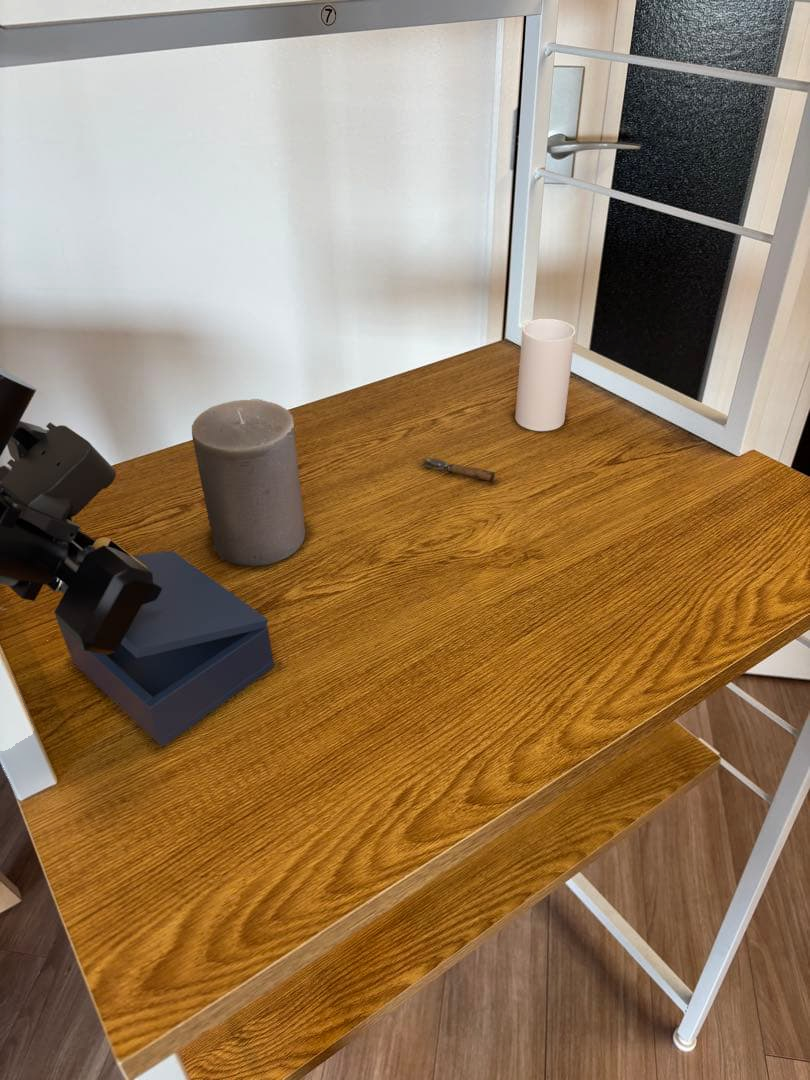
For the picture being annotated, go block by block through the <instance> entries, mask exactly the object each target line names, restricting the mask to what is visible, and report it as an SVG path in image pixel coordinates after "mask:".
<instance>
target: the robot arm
mask: <svg viewBox="0 0 810 1080" xmlns="http://www.w3.org/2000/svg"><path fill="white" fill-rule="evenodd" d="M36 392H37V388H36V387H34V386H33V385H32V384H30V383H28V382H26V381H25V380H23V379H21V378H20V377H18V376H17V375H15V374H13V373H12V372H9V371H7V370H5V369H4V368H3V367H2V368H1V367H0V457H1V456H2V454H3V453H4V451H5V449H6V448H7V449H8V453H9V456H10V457H11V458H10V459H9V460H8V461H7V462H6V464H7V465H8V466H6V465H2V466H0V585H3V586H4V585H5V586H8V587H9V588H10V589H11V590H12V591H13V592H14V593H15V594H16V595H17V596H18V597H19V598H20V599H21V600H28V601H32V602H35V601H36V599H37V598H38V596H39V594H40V592H41V590H42V588H43V586H47V588H49V589H50V590H51V592H54V593H61V589H62V587H63V585H64V583H65V584H66V585H67V586H68V588H67V590H66V592H65V593H64V594H63V595H62V597H61V599H60V601H59V603H58V604H57V606H56V608H55V610H54V611H53V613H54V615H55V618H56V621H57V624H58V627H59V629H60V628H61V629H63V630H64V631H65V632H66V633H67V634H68V635H69V636H70V637H71V638H72V639H73V640H74V641H75V642H76V643H77V644H78V645H79V646H80V647H81V648H82V649H84V650H85V651H88V652H94V653H100V654H105V655H108V654H111V653H114V652H116V651H117V649H118V647H119V645H120V644H121V642H122V640H123V638H124V636H125V635H126V633H127V631H128V629H129V627H130V626H131V624H132V622H133V620H134V618H135V617H136V615H137V613H138V611H139V609H140V608H141V606H142V605H144V604H146V603H149V602H152V601H155V600H156V599H157V598H158V596H159V594H160V593H161V591H162V588H161V587H160V586H159V585H157V584H155V583H153V573H151V572H150V571H149V570H148V569H146V568H145V567H144V566H142V565H141V564H140V563H139V562H137V561H136V560H135V559H134V558H132V557H131V556H130V555H129V554H130V553H129V552H128V551H127V550H125V549H124V548H123V547H121V546H120V545H119V544H118V543H116V542H115V541H114V540H112V539H111V541H110V543H109V544H108V546H105V545H103V546H101V547H99V548H96V547H94V546H93V544H94V542H95V541H96V540H97V539H95V538H94V537H92V536H90V535H89V534H88V533H85V532H84V531H83V530H81V529H80V528H81V526H80V525H79V524H77V523H76V522H75V521H74V520H73V519H72V518H73V517H75V516H77V515H78V514H79V513H80V512H81V511H82V510H83V509H85V507H87V505H88V504H89V503H90V502H91V501H92V500H93V499H94V498H95V497H96V496H98V494H99V493H100V492H101V491H103V490H105V489H107V488H109V487H110V486H111V485H112V483H114V481H115V479H116V476H117V471H116V469H115V468H114V467H113V466H112V465H111V464H110V463H109V461H108V460H107V459H105V457H104V456H103V455H101V453H100V452H99V450H97V449H96V448H95V447H94V446H93V445H92V443H90V442H89V441H88V440H87V439H85V438H84V437H83V436H81V435H80V434H78V433H77V432H76V431H74V430H72V429H71V428H69V426H67V425H61V424H60V425H55V424H54V423H52V422H48V424H46V425H45V426H46V428H47V429H44V428H43V427H41V426H39V425H37V424H32V423H28V422H26V421H22V418H23V416H24V414H25V412H26V410H27V408H28V407H29V405H30V404H31V401H32V399H33V398H34V396H35V394H36ZM113 541H114V542H115V543H116V544H115V543H114V542H113ZM118 545H119V546H120V547H121V548H120V547H119V546H118ZM122 548H123V549H124V550H125V551H124V550H123V549H122ZM126 551H127V552H128V553H129V554H128V553H127V552H126Z"/></svg>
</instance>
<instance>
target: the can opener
mask: <svg viewBox="0 0 810 1080" xmlns="http://www.w3.org/2000/svg"><path fill="white" fill-rule="evenodd" d="M421 460H422V461H424V462H423V466H424V467H425V468H432V467H433V468H432V469H434V470H438V471H442V470H445V469H446V470H447V472H450V473H452V474H457V475H461V476H463V475H464V476H467V477H470V478H474V479H477V480H480V481H481V480H482V481H488V482H493V481H494V479H495V474H496V473H495V472H494V471H491V470H487V469H482V468H479V467H471V466H470V467H469V466H464V465H460V464H455V463H449V464H447V462H446V461H444V460H440V459H436V458H422V459H421ZM427 462H428V463H430V464H427Z"/></svg>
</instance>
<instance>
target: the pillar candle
mask: <svg viewBox="0 0 810 1080" xmlns="http://www.w3.org/2000/svg"><path fill="white" fill-rule="evenodd" d="M293 415H294V414H291V412H290V410H289V409H286V408H285V407H284V406H282V405H280V404H277V403H274V402H272V401H267V400H263V399H259V398H251V399H240V400H233V401H232V400H231V401H227V402H223V403H220V404H217V405H213V406H211V407H208V409H206V410H204V411H203V412H201V413H200V414H199V415H198V416H197V417H196V418H195V419H194V421H193V423H192V425H191V436H192V443H193V448H194V453H195V458H196V462H197V469H198V470H197V471H198V472H199V473H198V474H199V479H200V485H201V489H202V493H203V498H204V503H205V508H206V514H207V520H208V526H209V528H210V532H211V537H212V540H213V541H212V547H213V549H214V551H215V553H216V554H217V556H218V557H220V559H223V560H224V561H226V562H227V563H228V562H229V563H232V564H234V565H239V566H245V567H258V566H259V567H260V566H268V565H272V564H276V563H278V562H281V561H283V560H284V559H287V558H289V557H291V556H292V555H293V554H294V553H296V552H297V551H298V550H299V548H301V546H302V545H303V544H304V541H305V538H306V525H305V516H304V507H303V497H302V489H301V487H302V486H301V478H300V477H301V476H300V469H299V461H298V452H297V443H296V436H295V421H294V416H293Z"/></svg>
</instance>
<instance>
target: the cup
mask: <svg viewBox="0 0 810 1080" xmlns="http://www.w3.org/2000/svg"><path fill="white" fill-rule="evenodd" d="M575 337H576V329H575V327H574V326H573V325H572V324H570V323H569V322H566V321H563V320H560V319H553V318H539V319H534V320H530V321H528V322H526V323H525V324H524V325H523V326H522V330H521V343H520V355H519V367H518V376H517V377H518V378H517V390H516V391H517V392H516V404H515V416H514V418H515V421H516V423H517V424H518V425H519V426H521V427H522V428H524V429H527V430H530V431H535V432H549V431H550V432H551V431H554V430H557V429H559V428H560V427H562V426H563V425H564V423H565V419H566V411H567V401H568V396H569V395H568V394H569V388H570V387H569V386H570V378H571V370H572V363H573V354H574V347H575V346H574V345H575Z"/></svg>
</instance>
